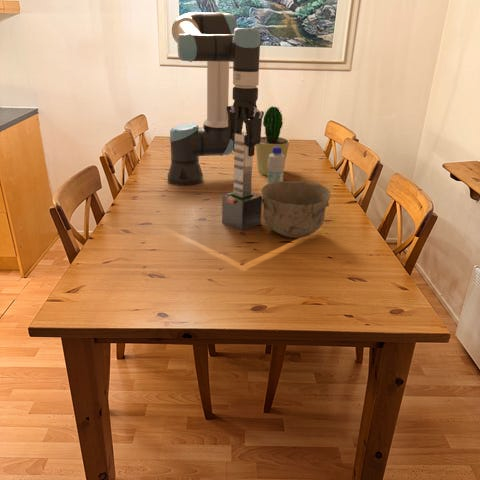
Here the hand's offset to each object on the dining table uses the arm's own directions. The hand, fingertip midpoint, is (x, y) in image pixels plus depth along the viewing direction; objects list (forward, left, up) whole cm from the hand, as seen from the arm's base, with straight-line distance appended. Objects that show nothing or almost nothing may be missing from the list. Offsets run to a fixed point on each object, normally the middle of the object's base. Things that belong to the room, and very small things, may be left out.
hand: (243, 163), depth 142 cm
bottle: (-11, +30, -22) cm, 39 cm away
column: (0, 0, -12) cm, 12 cm away
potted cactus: (-33, +54, -22) cm, 67 cm away
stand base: (0, 0, -22) cm, 22 cm away
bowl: (+16, +8, -22) cm, 28 cm away
